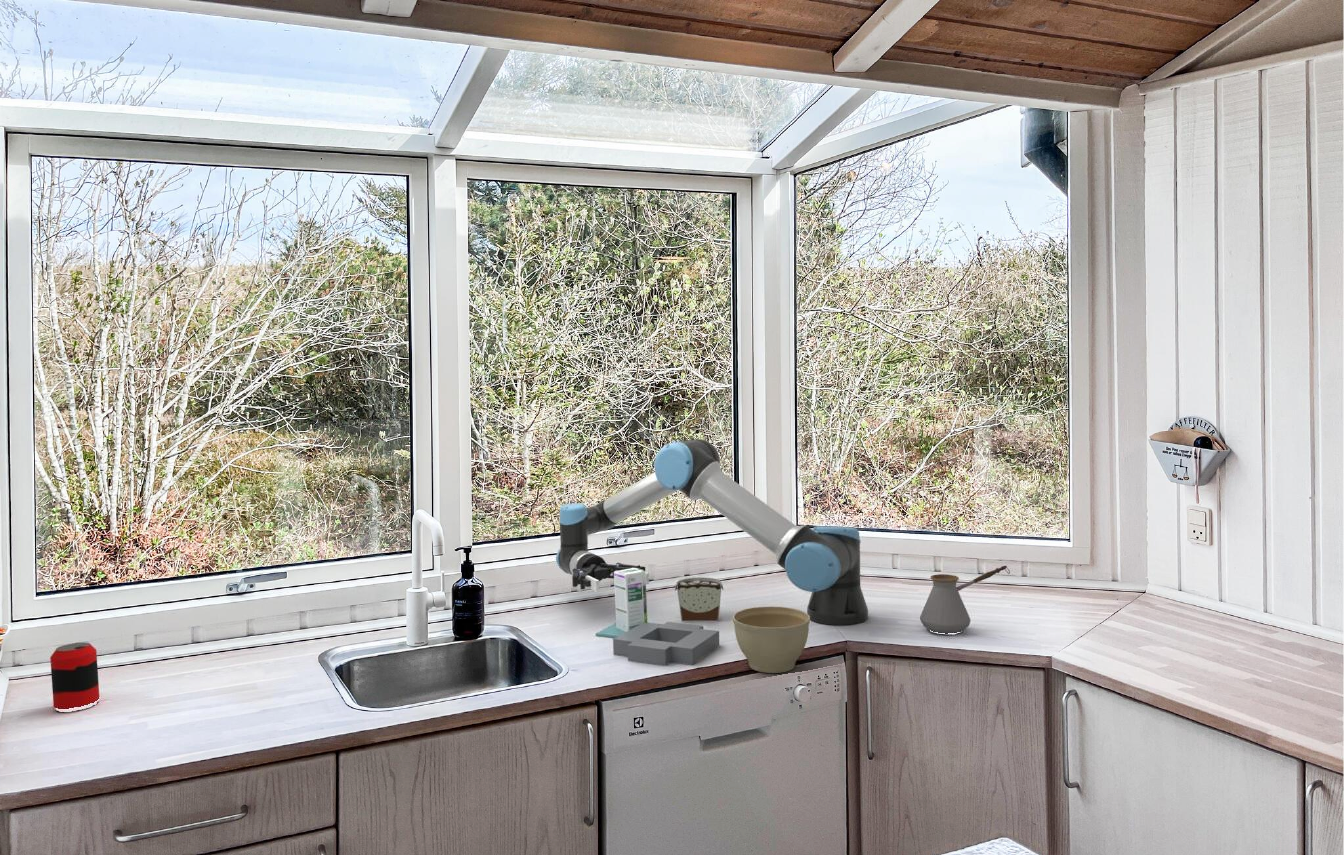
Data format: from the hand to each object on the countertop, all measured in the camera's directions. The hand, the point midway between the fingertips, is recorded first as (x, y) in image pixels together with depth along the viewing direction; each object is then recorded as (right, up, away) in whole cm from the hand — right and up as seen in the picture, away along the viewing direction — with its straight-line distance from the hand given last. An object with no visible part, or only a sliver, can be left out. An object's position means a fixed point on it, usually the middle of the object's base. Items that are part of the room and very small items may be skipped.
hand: (623, 582), depth 219 cm
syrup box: (+2, -11, -2) cm, 12 cm away
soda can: (-106, -17, -43) cm, 116 cm away
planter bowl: (+33, -13, -31) cm, 47 cm away
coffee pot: (+82, -10, -9) cm, 83 cm away
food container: (+19, -11, +8) cm, 24 cm away
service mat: (+2, -12, -2) cm, 12 cm away
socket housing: (+11, -12, -18) cm, 24 cm away
